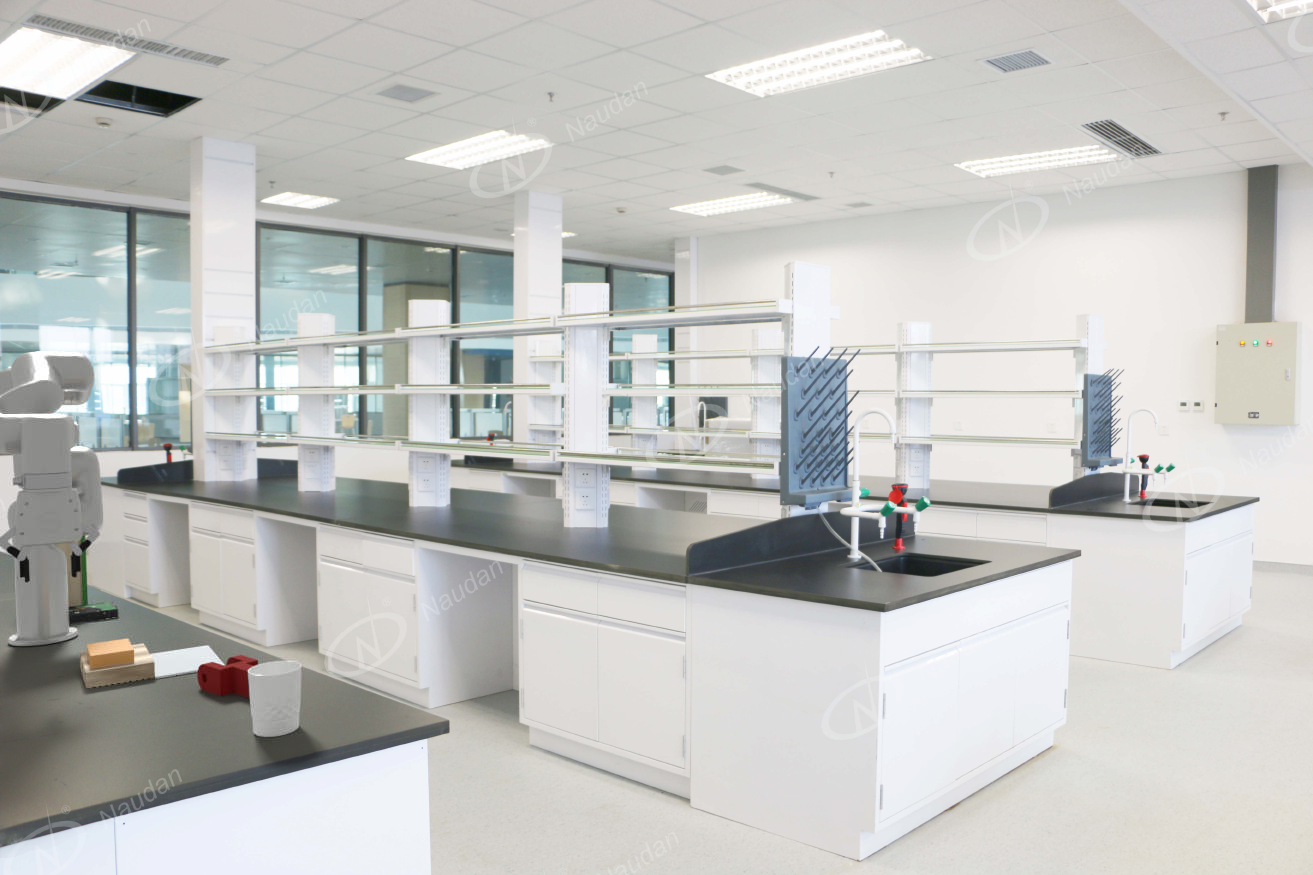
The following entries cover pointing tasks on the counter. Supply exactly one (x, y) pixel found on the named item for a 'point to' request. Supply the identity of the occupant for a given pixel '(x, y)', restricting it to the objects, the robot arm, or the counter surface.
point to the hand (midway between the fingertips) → (50, 577)
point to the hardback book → (79, 583)
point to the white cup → (275, 697)
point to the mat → (182, 661)
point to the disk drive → (92, 612)
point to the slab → (110, 652)
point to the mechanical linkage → (226, 676)
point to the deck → (119, 669)
